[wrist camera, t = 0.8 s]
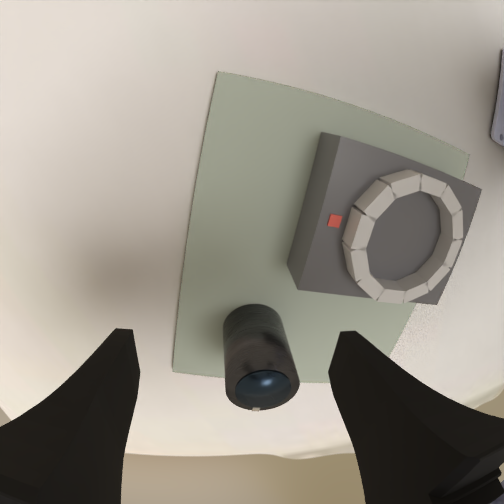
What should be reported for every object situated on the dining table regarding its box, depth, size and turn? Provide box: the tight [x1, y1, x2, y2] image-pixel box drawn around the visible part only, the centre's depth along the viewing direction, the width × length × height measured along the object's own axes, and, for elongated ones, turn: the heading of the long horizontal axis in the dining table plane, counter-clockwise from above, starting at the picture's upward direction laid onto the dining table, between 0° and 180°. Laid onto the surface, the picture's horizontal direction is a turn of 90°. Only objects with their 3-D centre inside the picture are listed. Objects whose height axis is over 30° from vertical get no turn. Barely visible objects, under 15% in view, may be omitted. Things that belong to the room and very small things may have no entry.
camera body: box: [287, 132, 482, 305], centre depth 17 cm, size 10×8×4 cm
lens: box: [223, 304, 300, 411], centre depth 19 cm, size 4×4×6 cm
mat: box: [173, 71, 469, 383], centre depth 20 cm, size 17×20×1 cm
